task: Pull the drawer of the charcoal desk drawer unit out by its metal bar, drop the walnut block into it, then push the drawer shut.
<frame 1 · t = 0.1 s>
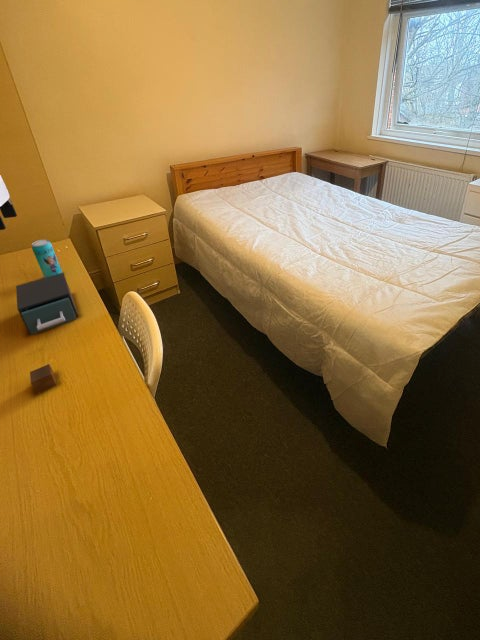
hand: (5, 223, 94), 30 cm above the table, tool pointing down, fingers open, 9 cm apart
drawer: (49, 309, 99), point 5 cm above the table, slide at 0.8 cm
block: (46, 383, 81), on the table
beverage can: (54, 277, 123), on the table
cabinet: (52, 313, 105), on the table
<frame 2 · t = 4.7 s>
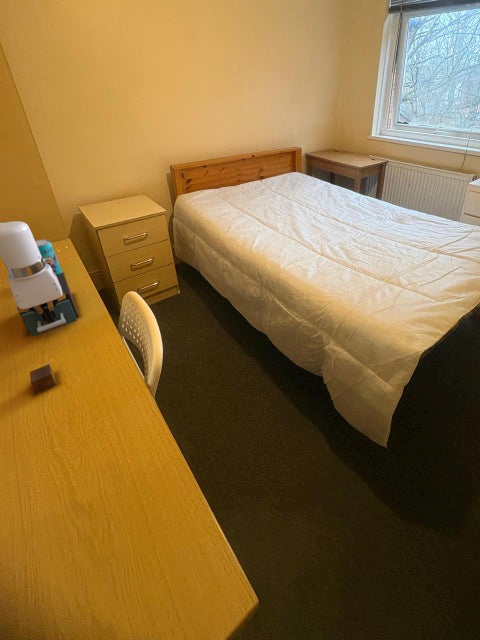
hand: (51, 320, 93), 6 cm above the table, tool pointing down, fingers closed
drawer: (49, 311, 98), point 5 cm above the table, slide at 1.9 cm, touching gripper
everything else where it was.
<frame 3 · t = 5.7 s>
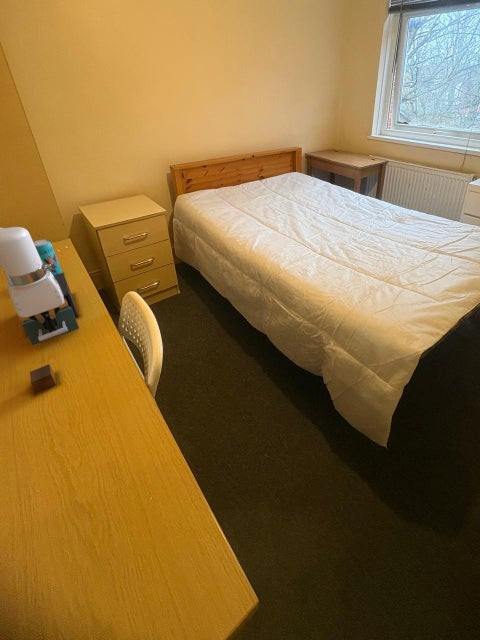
hand: (53, 328, 90), 6 cm above the table, tool pointing down, fingers closed
drawer: (50, 319, 95), point 5 cm above the table, slide at 6.3 cm, touching gripper
everything else where it was.
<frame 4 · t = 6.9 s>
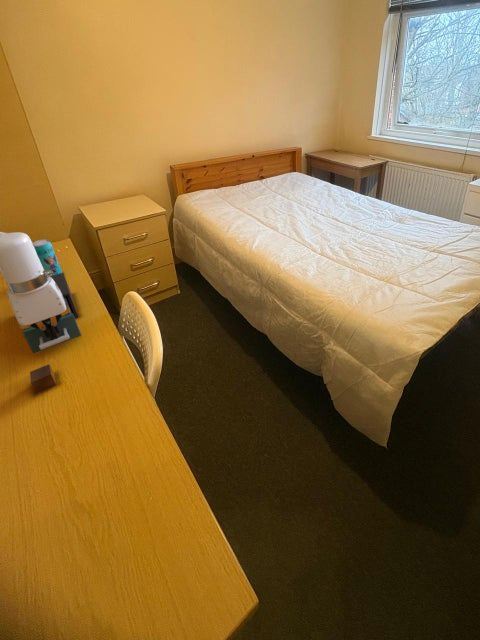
hand: (54, 336, 88), 6 cm above the table, tool pointing down, fingers closed
drawer: (52, 325, 93), point 5 cm above the table, slide at 10.1 cm, touching gripper
everything else where it was.
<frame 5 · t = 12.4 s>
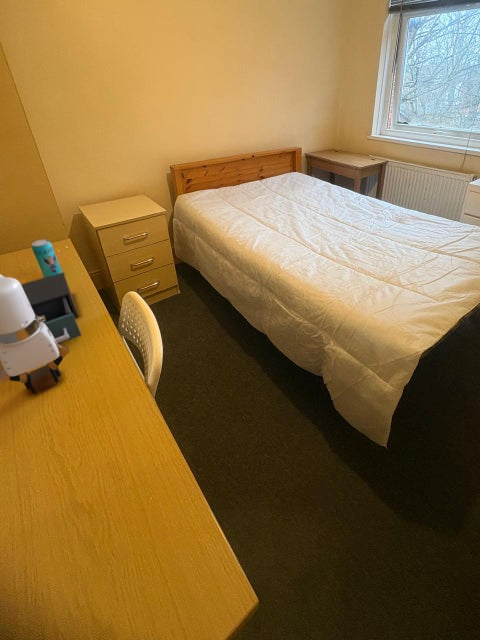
hand: (45, 383, 81), 0 cm above the table, tool pointing down, fingers closed on block, 4 cm apart
drawer: (52, 325, 93), point 5 cm above the table, slide at 9.9 cm
block: (46, 383, 81), on the table, touching gripper
everything else where it was.
when the fingers open (8 cm above the table, at t = 19.5 s): block stays where it is, resting on drawer.
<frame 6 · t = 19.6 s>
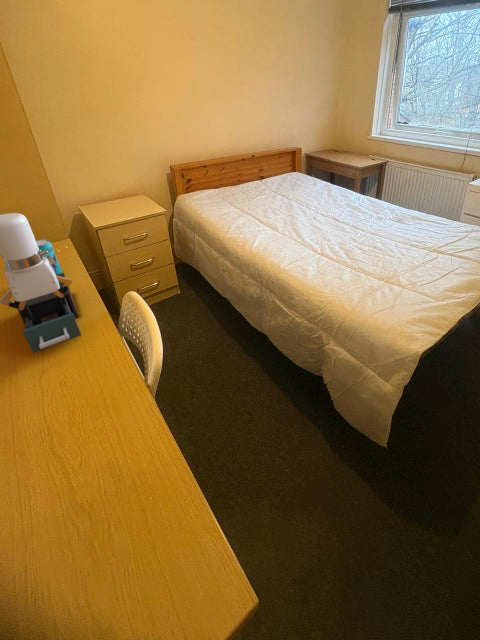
hand: (46, 311, 92), 9 cm above the table, tool pointing down, fingers open, 7 cm apart
drawer: (52, 325, 93), point 5 cm above the table, slide at 9.8 cm, touching block, gripper
block: (54, 329, 95), point 2 cm above the table, touching drawer
everything else where it was.
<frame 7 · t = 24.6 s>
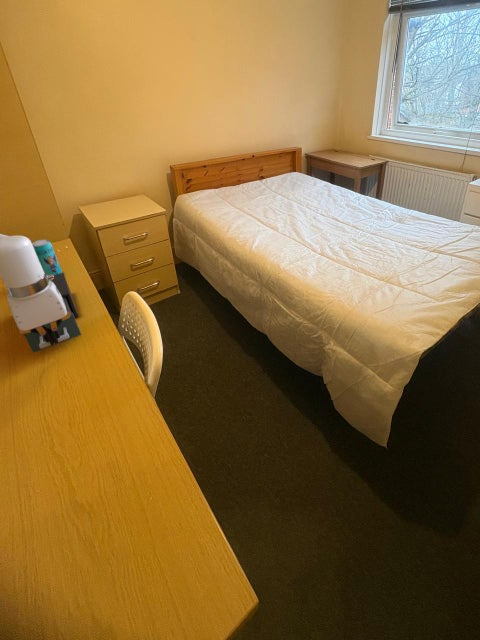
hand: (54, 341, 86), 6 cm above the table, tool pointing down, fingers closed
nothing on the table moved.
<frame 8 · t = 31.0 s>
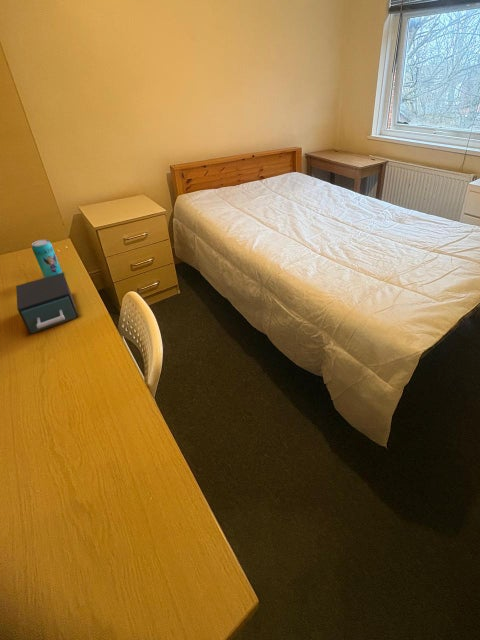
drawer: (48, 308, 99), point 5 cm above the table, slide at 0.0 cm, touching block, cabinet
block: (51, 312, 102), point 2 cm above the table, touching drawer
everything else where it was.
at the end: drawer pulled out 10.1 cm at the most during the clip, back to where it started at the end; block inside the target area in the cabinet (2.3 cm from its centre), point 2.0 cm above the cabinet's base; drawer slide at 0.0 cm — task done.
